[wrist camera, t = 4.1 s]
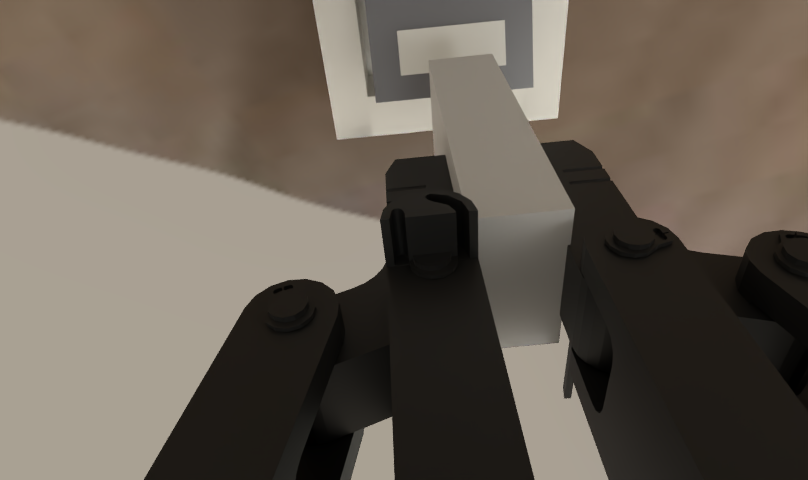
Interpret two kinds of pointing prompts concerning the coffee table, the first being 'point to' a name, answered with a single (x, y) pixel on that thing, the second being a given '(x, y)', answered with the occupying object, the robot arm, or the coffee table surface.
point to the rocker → (445, 41)
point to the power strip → (363, 117)
